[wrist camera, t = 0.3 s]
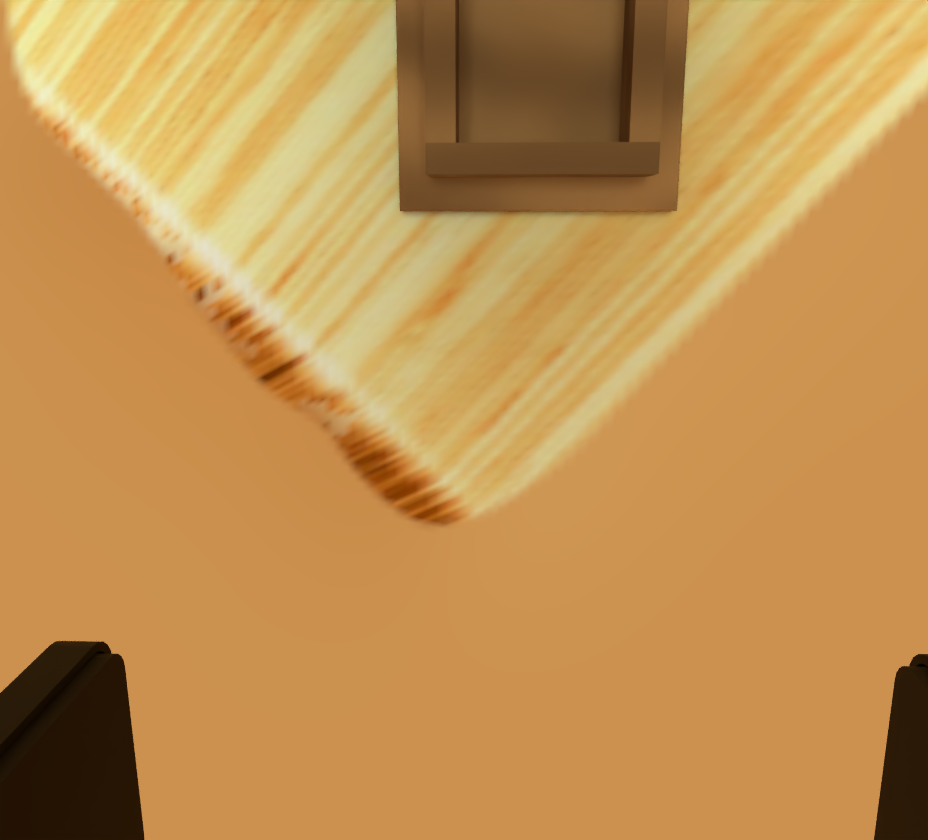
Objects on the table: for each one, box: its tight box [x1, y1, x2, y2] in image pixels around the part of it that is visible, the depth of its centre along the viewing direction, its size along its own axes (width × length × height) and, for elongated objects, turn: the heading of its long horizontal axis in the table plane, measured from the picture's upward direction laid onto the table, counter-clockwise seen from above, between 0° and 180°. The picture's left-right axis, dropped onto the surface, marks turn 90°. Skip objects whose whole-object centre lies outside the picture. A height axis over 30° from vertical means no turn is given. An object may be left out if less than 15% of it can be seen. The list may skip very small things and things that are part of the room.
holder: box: [396, 0, 689, 211], centre depth 34 cm, size 12×12×4 cm
